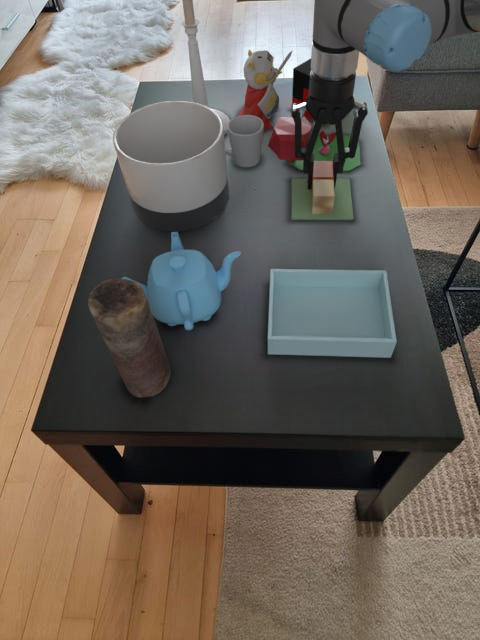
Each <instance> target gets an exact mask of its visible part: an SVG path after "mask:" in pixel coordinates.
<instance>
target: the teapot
mask: <svg viewBox="0 0 480 640" xmlns="http://www.w3.org/2000/svg"><path fill="white" fill-rule="evenodd" d="M170 236H171V245H170V246H171V248H170V251H167V252H164V253H162V254H159V255H157V256H156V257H155V258H153V260H152V262H151V264H150V267H149V270H148V276H147V283H146V285H145V284H143V283H141V282H138V281H136V280H134V279H132V278H130V277H127V276H123V277H121V279H128V280H131V281H135V282H137V283H138V284H140V285H141V286H142V288H143V289H144V291H145V293H146V297H147V299H148V302H149V306H150V309H151V312H152V314H153V318H154V319H156V320H157V321H159V322H161V323H163V324H167V325H168V326H170V327H175V326H177V325H183V326H184V327H183V328H184V330H185V331H192V330H193V329H194V323H198V322H200V321H204V322H205V321H206V322H207V321H209V320H210V319H211V318H212V316H213V315H214V314H215V313H216V312H217V311H218V310H219V308H220V306H221V303H222V292H223V291H224V290H225V289H226V288H227V287H228V286H229V284H230V282H231V276H232V265H233V262H234V261H235V260H236V259H237V258H238V257H239V256H240V255H241V253H242V252H241V251H240V250H237V251H233V252H230V253H229V254H226V256H225V257H224V259H223V261H222V266H221V268H220V269H219V270H217V271H216V270H215V267H214V265H213V263H212V262H211V261H210V260H209V258H208V257H207V256H206V255H205V254H203V252H202V251H200V250H197V249H185V248H184V245H183V241H182V240H181V238H180V235H179V231H170Z"/></svg>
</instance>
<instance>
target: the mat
mask: <svg viewBox="0 0 480 640" xmlns="http://www.w3.org/2000/svg"><path fill="white" fill-rule="evenodd" d="M350 179H351V178H336V185H335V189H334V193H335V198H334V205H333V213H332V214H312V204H311V189H308V178H291V207H290V208H291V209H290V211H291V214H290V215H291V216H290V219H291V221H292V220H293V221H354V219H355V218H354V210H353V209H354V208H353V199H352V189H351V180H350Z"/></svg>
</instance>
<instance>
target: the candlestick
mask: <svg viewBox="0 0 480 640" xmlns="http://www.w3.org/2000/svg"><path fill="white" fill-rule="evenodd" d="M181 1H182V9H183V15H184V20H183V21H181V23H180V24H181V26H182V27H183V28H184V34H185V35H187V38H188V41H187V45H188V58H189V69H190V80H191V92H192V102H193V103H198V104H201V105H204V106H206V107H208V108H210V106H209V102H208V95H207V91H206V85H205V78H204V72H203V67H202V61H201V54H200V48H199V41H198V39H197V33H198V32H199V29H198V25H199V24H200V20H199V19H196V17H195V8H194V0H181ZM210 109H211V110H213V111H214V112H215V113H216V114H217V115H218V116H219V117H220V119H221V121H222V123H223V128H224V127H226V126H227V125H228V123H229V121H230V120H231V119H230V118H229V116H228V115H227V114H226V113H224V112H223V111H221V110H218V109H215V108H210ZM225 135H227V133H224V136H225Z"/></svg>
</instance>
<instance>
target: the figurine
mask: <svg viewBox="0 0 480 640" xmlns="http://www.w3.org/2000/svg"><path fill="white" fill-rule="evenodd" d="M292 53H293V50H291V51H289V53H288V54H287V55H286V57H285V58H284V59H283V61H282V63H281V64H280V65H279V67H278V68H277V67H275V66H274V60H275V59H274V56H273V55H272V53H270V51H268V49H267V50H266V49H265V50H264V49H263V50H257V51H252V50H251V49H248V51H247V55H248V57H247V58H246V60H245V62H244V66H243V77H244V80H245V82H246V84H247V85H246V86H247V87H246V91H245V96H244V105H243V108H242V110H240V112H239V115H238V116H241V115H253V116H256V117H259V118H260V119H261V120H262V121H263V123H264V129H263V131H266V130H269V129H273V125H272V123H271V118H272V117H273V116H274V115H275V114H276V113H277V112H278V110H279V107H280V96H279V94H278V93H277V91H276V89H275V88H274V84H275V82H276V81H277V79H278V77H279V75H281V74H283V71H282V70H283V69H284V67H285V66H286V64H287V62H288V61H289V60H290V58H291V57H292Z"/></svg>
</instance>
